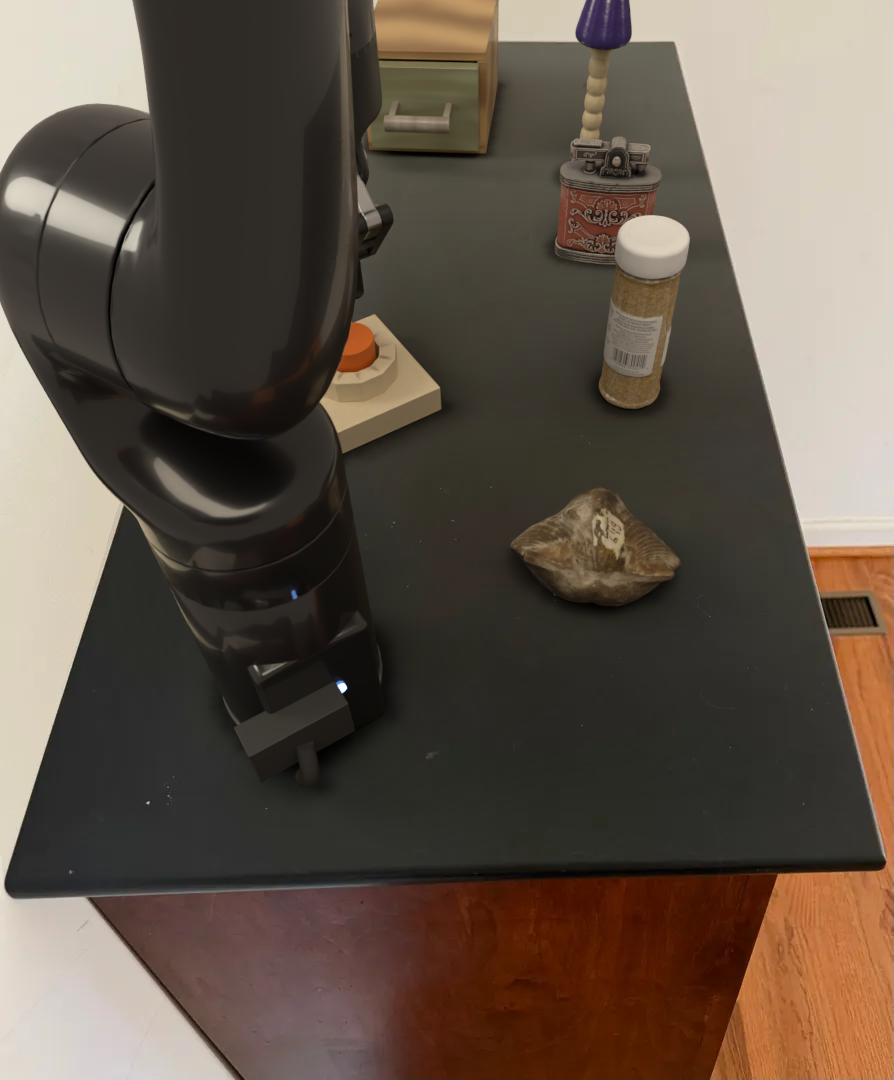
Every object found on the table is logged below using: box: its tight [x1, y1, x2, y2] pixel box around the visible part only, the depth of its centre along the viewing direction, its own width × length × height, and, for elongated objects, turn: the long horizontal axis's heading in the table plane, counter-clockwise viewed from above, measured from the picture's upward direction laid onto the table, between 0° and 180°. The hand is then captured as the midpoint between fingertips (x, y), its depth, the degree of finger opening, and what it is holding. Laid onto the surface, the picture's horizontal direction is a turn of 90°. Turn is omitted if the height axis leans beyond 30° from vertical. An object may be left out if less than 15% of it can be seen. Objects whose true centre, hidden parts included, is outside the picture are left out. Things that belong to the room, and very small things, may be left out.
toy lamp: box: [568, 0, 633, 161], centre depth 79 cm, size 5×5×17 cm
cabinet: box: [366, 0, 500, 154], centre depth 90 cm, size 14×12×10 cm
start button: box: [337, 321, 376, 373], centre depth 65 cm, size 4×4×2 cm
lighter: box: [554, 136, 663, 265], centre depth 74 cm, size 8×3×10 cm, turn 80°
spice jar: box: [598, 214, 691, 410], centre depth 62 cm, size 5×5×13 cm
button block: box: [320, 313, 442, 454], centre depth 67 cm, size 10×9×4 cm
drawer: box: [370, 59, 480, 151], centre depth 87 cm, size 17×10×8 cm, turn 173°
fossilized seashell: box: [509, 487, 682, 607], centre depth 56 cm, size 8×7×10 cm
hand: (345, 295), depth 62 cm, fingers closed
